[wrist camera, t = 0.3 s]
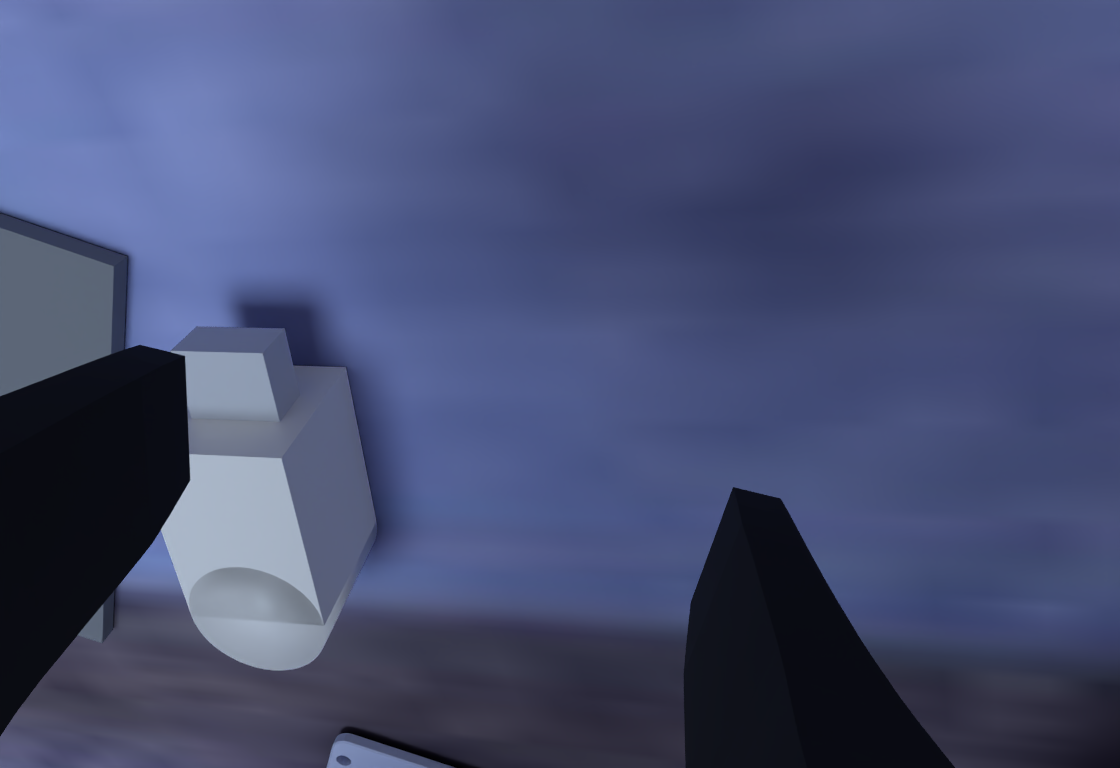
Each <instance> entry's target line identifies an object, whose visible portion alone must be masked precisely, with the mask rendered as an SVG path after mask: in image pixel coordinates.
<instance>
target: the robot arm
mask: <svg viewBox="0 0 1120 768" xmlns="http://www.w3.org/2000/svg"><path fill="white" fill-rule="evenodd" d="M189 482H190V459H189V435H188V411H187V387H186V363H185V356H184V355H180V354H175V353H171V352H167V351H163V350H159V349H155V348H150V347H146V346H142V345H138V346H135V347H132V348H128V349H125V350H122V351H119V352H116V353H113V354H110V355H107V356H105V357H102V358H99V359H96V360H94V361H91V362H88V363H86V364H83V365H81V366H78V367H75V368H73V369H70V370H67V371H65V372H62V373H60V374H57V375H55V376H52V377H49V378H47V379H44V380H42V381H39V382H36V383H34V384H31V385H28V386H26V387H23V388H21V389H18V390H15V391H13V392H10V393H7V394H5V395H2V396H0V736H1V734H2V733H3V731H4V730H5V728H6V727H7V725H8V724H9V722H10V721H11V719H12V718H13V716H14V715H15V713H16V712H17V711H18V709H19V708H20V707H21V705H22V704H23V703H24V701H25V700H26V699H27V697H28V696H29V695H30V693H31V692H32V691H33V689H34V688H35V687H36V685H37V684H38V683H39V681H40V680H41V679H42V678H43V676H44V675H45V674H46V673H47V672H48V670H49V669H50V668H51V667H52V666H53V664H54V663H55V662H56V661H57V659H58V658H59V657H60V656H61V655H62V653H63V652H64V651H65V650H66V649H67V647H68V646H69V645H70V644H71V642H72V641H73V640H74V639H75V638H76V636H77V635H78V634H79V633H80V632H81V630H82V629H83V628H84V627H85V625H86V624H87V623H88V622H89V621H90V619H91V618H92V617H93V616H94V615H95V613H96V612H97V611H98V610H99V608H100V607H101V606H102V605H103V604H104V602H105V601H106V600H107V599H108V598H109V596H110V595H111V594H112V593H113V591H114V590H115V589H116V588H117V587H118V585H119V584H120V583H121V582H122V580H123V579H124V578H125V577H126V575H127V574H128V573H129V572H130V570H131V569H132V568H133V567H134V566H135V564H136V563H137V562H138V561H139V559H140V558H141V557H142V556H143V554H144V553H145V552H146V550H147V549H148V548H149V547H150V545H151V544H152V543H153V541H154V540H155V538H156V536H157V535H158V533H159V532H160V530H161V529H162V527H163V525H164V524H165V522H166V521H167V519H168V517H169V516H170V514H171V513H172V511H173V509H174V507H175V506H176V504H177V502H178V501H179V499H180V497H181V495H182V494H183V492H184V490H185V489H186V487H187V485H188V483H189ZM684 716H685V758H686V768H955V767H954V766H953V765H952V763H951V762H950V761H949V760H948V758H947V757H946V756H945V755H944V753H943V752H942V751H941V750H940V748H939V747H938V746H937V745H936V743H935V742H934V741H933V740H932V738H931V737H930V736H929V735H928V733H927V732H926V731H925V730H924V728H923V727H922V726H921V725H920V723H919V722H918V721H917V720H916V718H915V717H914V716H913V714H912V713H911V711H910V710H909V709H908V707H907V706H906V705H905V703H904V702H903V701H902V699H901V698H900V697H899V695H898V694H897V692H896V691H895V690H894V688H893V687H892V685H891V684H890V682H889V681H888V679H887V678H886V676H885V675H884V674H883V672H882V671H881V669H880V668H879V666H878V665H877V663H876V662H875V660H874V659H873V658H872V656H871V655H870V653H869V652H868V650H867V649H866V647H865V645H864V644H863V642H862V641H861V639H860V638H859V636H858V634H857V633H856V631H855V629H854V628H853V626H852V624H851V623H850V621H849V619H848V618H847V616H846V614H845V613H844V611H843V609H842V608H841V606H840V604H839V603H838V601H837V600H836V598H835V596H834V594H833V593H832V591H831V589H830V587H829V586H828V584H827V582H826V580H825V579H824V577H823V575H822V573H821V572H820V570H819V568H818V566H817V564H816V562H815V561H814V559H813V557H812V555H811V553H810V552H809V550H808V548H807V546H806V544H805V542H804V540H803V539H802V537H801V535H800V533H799V531H798V529H797V527H796V525H795V524H794V522H793V520H792V518H791V516H790V514H789V513H788V511H787V509H786V507H785V505H784V504H783V502H782V500H781V499H780V498H776V497H772V496H767V495H763V494H759V493H755V492H751V491H747V490H742V489H738V488H734V487H733V489H732V492H731V494H730V497H729V500H728V503H727V505H726V508H725V511H724V514H723V516H722V519H721V522H720V524H719V527H718V530H717V533H716V535H715V538H714V541H713V543H712V546H711V549H710V552H709V554H708V557H707V560H706V563H705V565H704V568H703V571H702V573H701V576H700V579H699V582H698V584H697V587H696V590H695V592H694V595H693V598H692V601H691V606H690V615H689V625H688V634H687V644H686V655H685V666H684ZM327 768H455V767H452V766H449V765H446V764H443V763H440V762H437V761H434V760H431V759H428V758H425V757H422V756H419V755H416V754H412V753H409V752H406V751H403V750H400V749H397V748H394V747H391V746H388V745H385V744H382V743H379V742H376V741H373V740H370V739H366V738H363V737H360V736H357V735H354V734H350V733H342V734H340V735H338V736H337V737H336V739H335V741H334V743H333V746H332V749H331V753H330V757H329V761H328V764H327Z"/></svg>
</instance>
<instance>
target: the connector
mask: <svg viewBox="0 0 1120 768" xmlns="http://www.w3.org/2000/svg"><path fill="white" fill-rule="evenodd" d="M171 353H175V354H180V355H184V356H185V363H186V387H187V411H188V435H189V459H190V482H189V483H188V485H187V487H186V489H185V490H184V492H183V494H182V495H181V497H180V499H179V501H178V502H177V504H176V506H175V507H174V509H173V511H172V513H171V514H170V516H169V517H168V519H167V521H166V522H165V524H164V525H163V527H162V529H161V531H162V534H163V537H164V540H165V543H166V545H167V548H168V551H169V554H170V557H171V560H172V562H173V565H174V568H175V571H176V574H177V576H178V579H179V582H180V585H181V588H182V590H183V593H184V596H185V599H186V602H187V604H188V607H189V610H190V613H191V616H192V618H193V620H194V623H195V624H196V626H197V628H198V629H199V631H200V632H201V633H202V634H203V636H204V637H205V638H206V639H207V640H208V641H209V642H210V643H211V644H212V645H214V646H215V647H216V648H217V649H219V650H220V651H221V652H223V653H224V654H226V655H228V656H229V657H231V658H233V659H235V660H237V661H239V662H242V663H244V664H247V665H250V666H253V667H256V668H261V669H267V670H280V671H281V670H291V669H296V668H299V667H303V666H305V665H307V664H309V663H310V662H312V661H313V660H314V659H315V658H316V657H317V656H318V655H319V654H320V652H321V651H322V649H323V647H324V645H325V643H326V641H327V639H328V637H329V635H330V633H331V631H332V629H333V627H334V625H335V622H336V620H337V618H338V616H339V614H340V612H341V610H342V608H343V606H344V604H345V602H346V600H347V598H348V596H349V594H350V592H351V590H352V588H353V586H354V583H355V581H356V579H357V577H358V575H359V573H360V571H361V569H362V567H363V565H364V563H365V561H366V559H367V557H368V555H369V553H370V551H371V549H372V547H373V544H374V542H375V540H376V536H377V521H376V516H375V511H374V506H373V501H372V496H371V491H370V486H369V481H368V476H367V471H366V466H365V461H364V455H363V450H362V445H361V440H360V435H359V430H358V425H357V420H356V415H355V410H354V405H353V400H352V395H351V390H350V385H349V380H348V375H347V370H346V367H326V366H293V362H292V357H291V353H290V349H289V345H288V340H287V336H286V332H285V328H241V327H196V328H195V329H193V330H192V331H191V332H190V333H189V334H188V335H187V336H186V337H185V338H184V339H183V340H182V341H181V342H179V343H178V344H177V345H176V346H175V347H174V348H173V349H172V350H171Z"/></svg>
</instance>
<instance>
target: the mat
mask: <svg viewBox="0 0 1120 768" xmlns="http://www.w3.org/2000/svg"><path fill="white" fill-rule="evenodd" d="M127 261H128V257H127V256H124V255H121V254H118V253H115V252H113V251H110V250H107V249H104V248H101V247H98V246H95V245H92V244H89V243H86V242H83V241H80V240H77V239H74V238H71V237H69V236H66V235H63V234H60V233H57V232H54V231H51V230H48V229H45V228H42V227H39V226H36V225H33V224H30V223H27V222H24V221H22V220H19V219H16V218H13V217H10V216H7V215H4V214H1V213H0V396H2V395H5V394H7V393H10V392H13V391H15V390H18V389H21V388H23V387H26V386H28V385H31V384H34V383H36V382H39V381H42V380H44V379H47V378H49V377H52V376H55V375H57V374H60V373H62V372H65V371H67V370H70V369H73V368H75V367H78V366H81V365H83V364H86V363H88V362H91V361H94V360H96V359H99V358H102V357H105V356H107V355H110V354H113V353H116V352H119V351H122V350H124V336H125V311H126V286H127ZM113 614H114V591H113V593H112V594H111V595H110V596H109V598H108V599H107V600H106V601H105V602H104V604H103V605H102V606H101V607H100V608H99V610H98V611H97V612H96V613H95V615H94V616H93V617H92V618H91V619H90V621H89V622H88V623H87V624H86V625H85V627H84V628H83V629H82V630H81V632H80V633H79V634H78V635H79V636H82V637H85V638H88V639H91V640H94V641H97V642H100V643H103V642H104V640H105V639H106V638H107V636H108V635H109V634H110V632H111V631H112V630H113Z"/></svg>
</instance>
